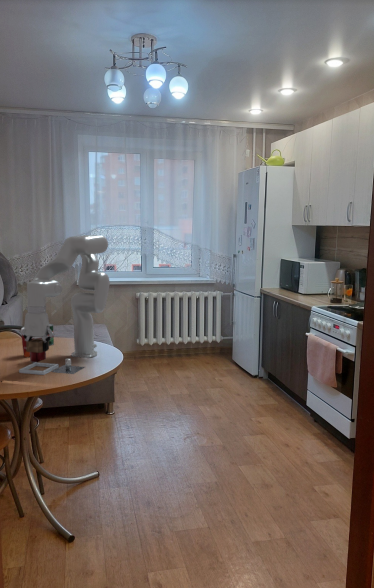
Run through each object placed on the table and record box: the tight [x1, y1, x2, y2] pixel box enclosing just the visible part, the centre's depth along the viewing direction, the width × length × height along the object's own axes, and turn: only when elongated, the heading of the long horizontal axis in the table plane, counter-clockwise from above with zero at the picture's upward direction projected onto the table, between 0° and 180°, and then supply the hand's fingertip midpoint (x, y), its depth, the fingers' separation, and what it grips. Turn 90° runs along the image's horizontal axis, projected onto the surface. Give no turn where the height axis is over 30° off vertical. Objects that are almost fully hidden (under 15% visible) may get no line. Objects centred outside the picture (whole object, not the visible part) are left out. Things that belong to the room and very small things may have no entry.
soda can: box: [29, 337, 47, 364], centre depth 225 cm, size 7×7×12 cm
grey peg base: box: [50, 357, 86, 375], centre depth 208 cm, size 11×11×6 cm
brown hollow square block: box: [26, 339, 50, 353], centre depth 207 cm, size 7×8×4 cm
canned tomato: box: [48, 323, 55, 347], centre depth 259 cm, size 8×8×11 cm
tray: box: [18, 362, 60, 376], centre depth 208 cm, size 12×12×2 cm
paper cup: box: [20, 327, 30, 358], centre depth 236 cm, size 8×8×14 cm
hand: (37, 350), depth 206 cm, fingers closed on brown hollow square block, 6 cm apart
